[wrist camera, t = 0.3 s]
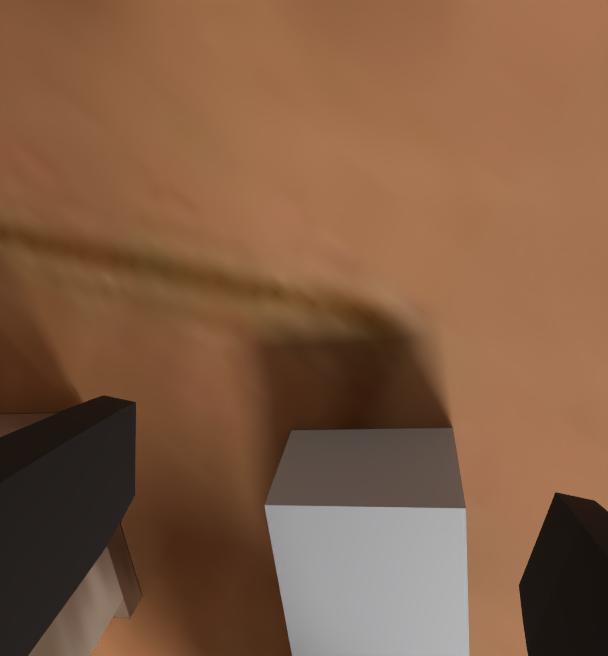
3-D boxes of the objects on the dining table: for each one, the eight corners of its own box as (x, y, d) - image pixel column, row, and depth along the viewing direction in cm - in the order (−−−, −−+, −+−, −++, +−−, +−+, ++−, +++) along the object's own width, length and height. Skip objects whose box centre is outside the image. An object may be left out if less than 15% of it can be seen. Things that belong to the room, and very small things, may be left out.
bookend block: (457, 591, 22) (470, 700, 18) (316, 584, 23) (297, 685, 19) (452, 425, 19) (465, 508, 15) (292, 427, 20) (264, 505, 16)
